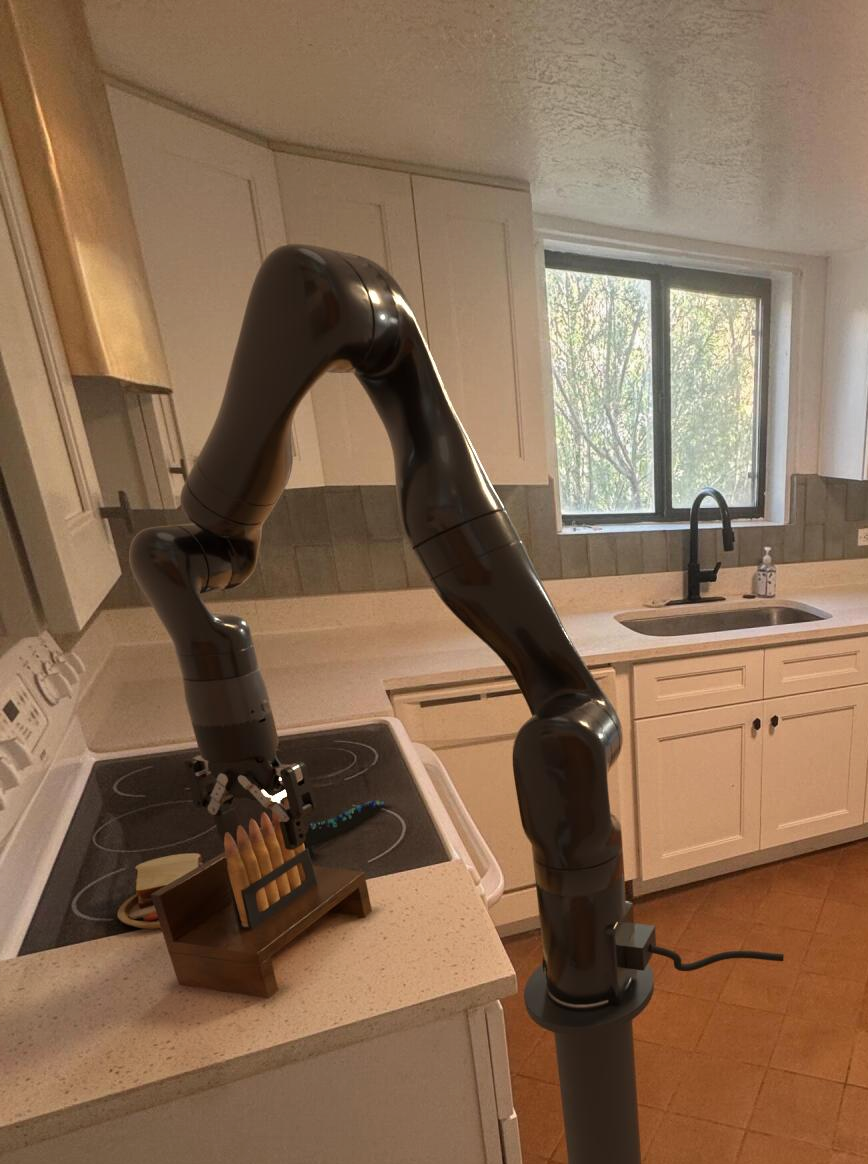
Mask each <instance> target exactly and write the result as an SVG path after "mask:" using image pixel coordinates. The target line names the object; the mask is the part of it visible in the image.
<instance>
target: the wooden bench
mask: <svg viewBox="0 0 868 1164" xmlns="http://www.w3.org/2000/svg"><path fill="white" fill-rule="evenodd" d="M272 826H273V829H274V825H273V823H272ZM260 831H261V834H262V830H261V829H260ZM274 833H275V832H274ZM248 838H249V840H250V836H248ZM262 838H263V834H262ZM250 844H251V840H250ZM236 846H237V848H238V852H239V847H238V843H237V844H236ZM313 869H314V873H315V877H316V881H317V884H315V885H314V886H313V887H311V888H310V889H308V890H307V891H306V892H304V893H303V894H301V895H300V896H299V897H297V898H296V899H295V900H293V901H292V902H290V903H289V904H288V905H286V906H285V907H283V908H282V909H281V910H279V911H278V912H277V913H275V914H274V915H272V916H271V917H270V918H268V919H267V920H266V921H264V922H263V923H261V924H260V925H259V926H257V927H256V928H254V929H244V928H238V925H237V920H236V916H235V912H234V907H233V903H232V898H231V894H230V888H232V885H231V881H230V877H229V873H228V868H227V858H226V853H225V851H223V852H222V853H219V854H217V855H216V856H215V857H212V858H210V859H209V860H208V861H206V862H204V863H202V864H200V865H199V867H197V868H195V869H194V870H192V871H190V872H188V873H187V874H185V875H183V876H182V877H180V878H178V879H176V880H175V881H173V882H171V883H170V884H168V885H166V886H164V887H163V888H161V889H159V890H157V891H156V892H154V893H152V894H151V897H152V900H153V904H154V907H155V910H156V913H157V916H158V920H159V923H160V926H161V928H160V929H161V932H162V936H163V939H164V942H165V944H166V948H167V951H168V955H169V958H170V962H171V964H172V968H173V971H174V974H175V977H176V980H177V983H178V985H179V986H185V987H192V988H196V989H197V988H198V989H205V990H211V991H217V992H224V993H231V994H238V995H244V996H250V997H257V998H263V999H270V998H271V997H273V996H274V995H275V994H276V993H277V992H278V991H279V990H280V989H279V986H278V982H277V978H276V975H275V970H274V966H273V962H272V959H271V957H272V956H273V955H275V954H276V953H277V952H279V950H281V949H282V948H284V947H285V946H286V945H288V944H289V943H290V942H291V941H292V940H293V939H296V937H298V936H299V935H300V934H301V933H303V932H304V931H306V930H307V929H308V928H309V927H310V926H312V925H313V924H314V923H315V922H316V921H318V920H319V919H320V918H323V916H324V915H326V914H327V913H329V914H336V915H337V914H338V915H345V916H353V917H359V918H360V917H361V918H366V917H367V916H369V914H370V913H372V912H373V909H372V904H371V898H370V894H369V890H368V884H367V880H366V873H365V872H364V871H359V870H350V869H341V868H334V867H326V866H325V867H324V866H315V865H313Z"/></svg>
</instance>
